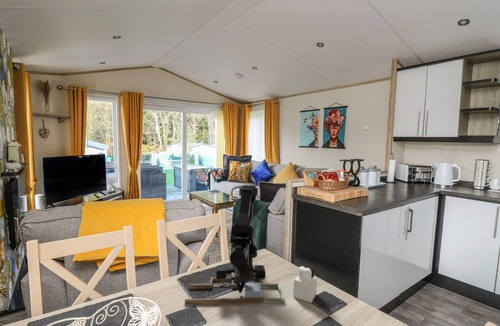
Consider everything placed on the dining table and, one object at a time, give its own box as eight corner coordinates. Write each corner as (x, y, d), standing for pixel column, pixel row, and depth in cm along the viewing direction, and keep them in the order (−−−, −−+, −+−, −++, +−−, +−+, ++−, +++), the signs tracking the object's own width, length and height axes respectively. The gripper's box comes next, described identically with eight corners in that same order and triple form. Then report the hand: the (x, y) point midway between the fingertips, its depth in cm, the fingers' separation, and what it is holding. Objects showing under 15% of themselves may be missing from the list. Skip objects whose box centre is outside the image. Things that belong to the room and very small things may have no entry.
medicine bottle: (299, 288, 107) (300, 260, 106) (316, 294, 103) (318, 265, 102) (293, 297, 101) (294, 267, 100) (311, 303, 97) (312, 273, 96)
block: (244, 292, 103) (245, 282, 103) (259, 292, 104) (260, 282, 103) (245, 301, 97) (245, 291, 97) (260, 301, 98) (261, 291, 97)
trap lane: (191, 281, 110) (191, 277, 110) (277, 280, 113) (277, 276, 113) (184, 304, 95) (184, 300, 95) (284, 302, 97) (284, 298, 97)
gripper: (215, 264, 91) (214, 305, 93) (268, 264, 92) (266, 305, 94) (217, 250, 102) (216, 288, 104) (264, 250, 103) (263, 287, 105)
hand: (240, 292), depth 101 cm, fingers closed
